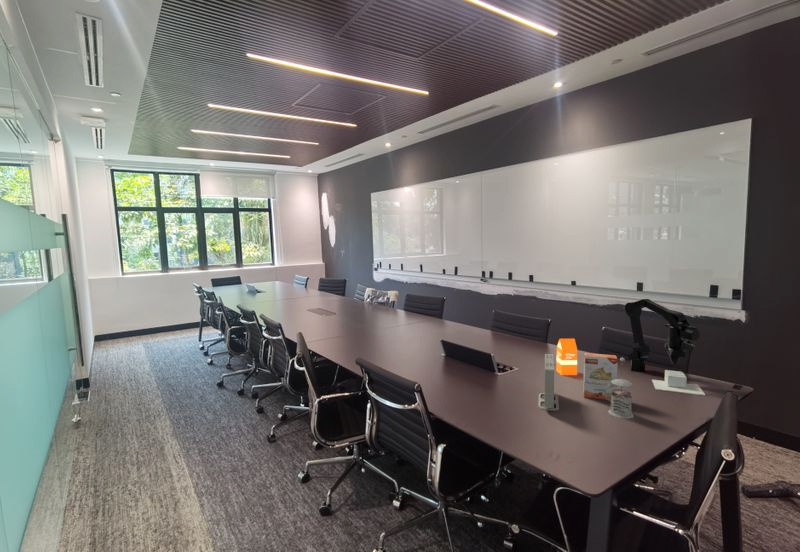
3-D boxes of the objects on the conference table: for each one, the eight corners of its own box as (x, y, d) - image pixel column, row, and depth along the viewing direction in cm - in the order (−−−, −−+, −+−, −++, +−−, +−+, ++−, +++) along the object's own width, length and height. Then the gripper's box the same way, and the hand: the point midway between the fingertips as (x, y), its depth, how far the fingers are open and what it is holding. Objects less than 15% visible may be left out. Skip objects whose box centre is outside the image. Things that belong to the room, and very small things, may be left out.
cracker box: (583, 397, 188) (584, 355, 186) (583, 393, 194) (583, 352, 192) (616, 401, 183) (617, 358, 181) (614, 396, 188) (616, 354, 187)
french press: (633, 420, 164) (635, 362, 162) (602, 414, 170) (603, 358, 168) (634, 411, 172) (635, 356, 170) (604, 406, 178) (605, 352, 176)
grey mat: (656, 389, 196) (656, 388, 196) (651, 380, 209) (651, 379, 209) (705, 395, 187) (705, 394, 187) (697, 385, 200) (697, 384, 200)
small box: (664, 379, 208) (667, 386, 199) (664, 369, 208) (667, 375, 198) (682, 382, 205) (686, 388, 195) (682, 371, 204) (687, 377, 195)
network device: (559, 414, 171) (559, 370, 169) (538, 411, 174) (538, 368, 172) (557, 393, 195) (557, 353, 193) (538, 391, 198) (539, 352, 196)
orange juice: (577, 375, 220) (577, 340, 218) (561, 375, 220) (561, 340, 218) (571, 370, 228) (571, 336, 226) (556, 370, 228) (556, 337, 226)
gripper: (699, 341, 192) (697, 372, 194) (689, 333, 209) (688, 362, 210) (671, 340, 197) (670, 370, 198) (665, 332, 214) (664, 359, 215)
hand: (674, 365), depth 205 cm, fingers closed
